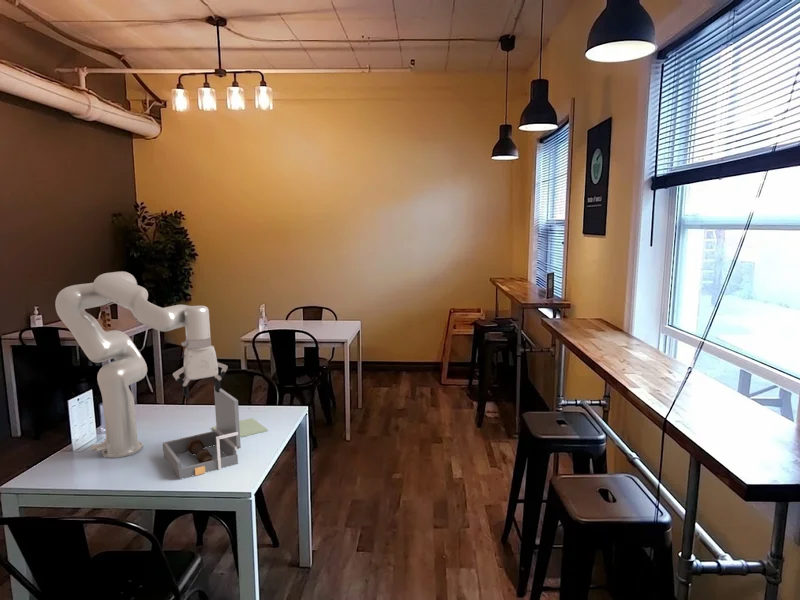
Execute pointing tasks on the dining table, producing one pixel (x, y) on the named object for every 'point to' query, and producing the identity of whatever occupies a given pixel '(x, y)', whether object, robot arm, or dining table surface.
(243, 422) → the mat
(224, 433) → the case
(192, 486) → the dining table surface
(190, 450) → the bolt
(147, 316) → the robot arm
